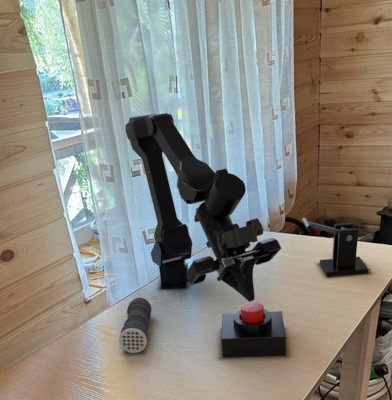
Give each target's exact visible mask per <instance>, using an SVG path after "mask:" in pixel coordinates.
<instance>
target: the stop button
mask: <svg viewBox="0 0 392 400" xmlns="http://www.w3.org/2000/svg"><path fill="white" fill-rule="evenodd" d="M264 309H265V306H264V304H263V303H261V302H259V301H250V302H249V301H247V302H244V303H243V304H241V305H240V310H241V320H242V321H243V322H247V323H257V322H260V321H262V320H263V319H264Z"/></svg>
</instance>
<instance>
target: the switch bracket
mask: <svg viewBox="0 0 392 400" xmlns="http://www.w3.org/2000/svg"><path fill="white" fill-rule="evenodd" d="M333 226H334V227H333V228H335V229H339V234H338V235H337V234H334V233H333V244H332V245H333V246H332V257H331V258H327V259H325V258H324V259H319V266H320V268H321V269H322V271H323V273H324V275H325V276H326V277H327V278H330V277H342V276H353V275H364V274H367V275H368V274H369V267H368V266H367V264H365V262H364V261H363V260H362V258H361V257H360V256H357V251H358V241H359V229H358V227H355V228H354V226H355V224H354V223H353V222H347V223H346V222H345V223H335V224H334V225H333ZM341 227H345V228H349V229H343V230H340V229H341Z"/></svg>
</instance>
